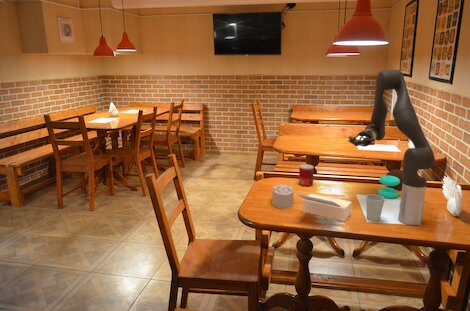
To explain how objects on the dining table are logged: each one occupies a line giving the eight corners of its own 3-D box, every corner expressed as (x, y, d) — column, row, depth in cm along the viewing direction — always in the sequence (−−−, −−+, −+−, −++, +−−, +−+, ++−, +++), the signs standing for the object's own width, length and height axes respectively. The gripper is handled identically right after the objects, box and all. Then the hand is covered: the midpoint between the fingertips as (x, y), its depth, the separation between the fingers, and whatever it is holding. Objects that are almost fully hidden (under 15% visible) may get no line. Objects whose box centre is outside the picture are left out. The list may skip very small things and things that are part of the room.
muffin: (381, 187, 207) (383, 170, 204) (389, 182, 215) (390, 166, 212) (403, 192, 199) (405, 175, 196) (410, 187, 207) (412, 170, 204)
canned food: (312, 187, 207) (313, 168, 204) (298, 186, 208) (299, 167, 205) (312, 183, 214) (313, 164, 211) (298, 182, 215) (299, 164, 213)
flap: (340, 205, 162) (333, 201, 152) (340, 207, 162) (332, 203, 152) (306, 198, 171) (297, 193, 161) (306, 199, 170) (297, 195, 161)
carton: (350, 214, 171) (351, 201, 169) (343, 221, 163) (345, 208, 161) (309, 204, 181) (310, 193, 180) (302, 211, 174) (302, 199, 172)
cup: (385, 222, 162) (387, 200, 160) (368, 222, 162) (370, 200, 159) (377, 215, 169) (379, 194, 167) (361, 215, 169) (363, 194, 166)
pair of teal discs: (379, 174, 198) (399, 175, 195) (377, 191, 201) (397, 193, 197) (380, 179, 189) (401, 181, 186) (378, 197, 191) (398, 200, 188)
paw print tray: (292, 199, 189) (293, 183, 187) (293, 209, 177) (294, 192, 174) (272, 198, 190) (272, 182, 188) (271, 208, 178) (272, 191, 175)
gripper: (353, 128, 185) (342, 134, 171) (380, 131, 178) (371, 137, 164) (352, 143, 187) (341, 149, 173) (379, 146, 180) (370, 153, 166)
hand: (356, 143), depth 169 cm, fingers closed
